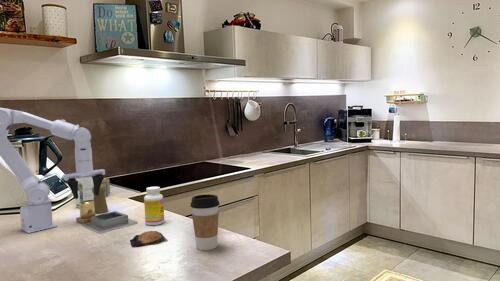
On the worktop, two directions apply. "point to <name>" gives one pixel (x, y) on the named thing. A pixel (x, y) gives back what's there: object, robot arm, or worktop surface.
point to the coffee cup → (205, 220)
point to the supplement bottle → (154, 206)
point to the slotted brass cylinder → (87, 209)
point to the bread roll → (148, 239)
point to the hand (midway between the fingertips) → (86, 196)
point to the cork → (100, 201)
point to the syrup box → (84, 189)
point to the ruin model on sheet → (106, 186)
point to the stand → (83, 220)
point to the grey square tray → (108, 222)
